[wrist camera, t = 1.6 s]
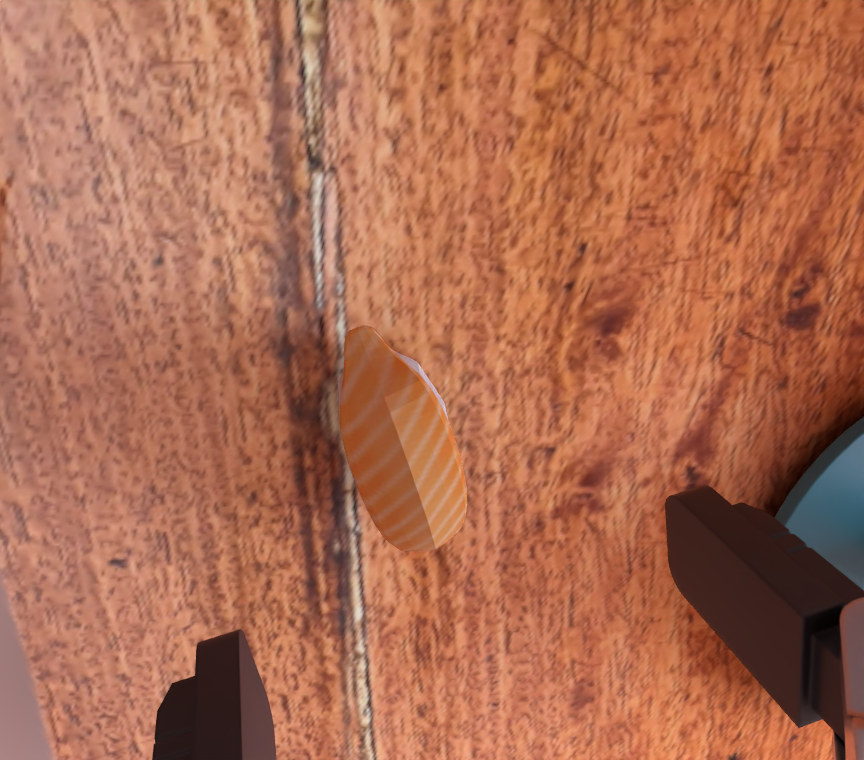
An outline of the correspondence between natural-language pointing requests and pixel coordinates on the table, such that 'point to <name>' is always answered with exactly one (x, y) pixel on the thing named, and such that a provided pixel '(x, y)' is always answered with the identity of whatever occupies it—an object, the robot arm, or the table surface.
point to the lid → (832, 504)
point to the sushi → (399, 445)
